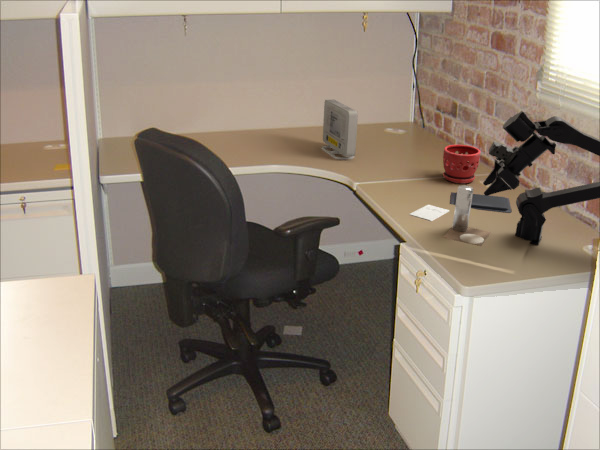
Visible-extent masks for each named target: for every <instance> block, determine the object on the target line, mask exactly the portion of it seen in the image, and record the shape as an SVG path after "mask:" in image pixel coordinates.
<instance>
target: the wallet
mask: <svg viewBox="0 0 600 450" xmlns="http://www.w3.org/2000/svg"><path fill="white" fill-rule="evenodd" d="M456 197H457V191H456V192H453V191H452V192H450V197H449V205H453V206H455V205H456ZM471 209H474V210H476V211H477V210H478V211H487V212H496V213H503V214H511V213H512V207H511V202H510V197H509V198H508V197H505V196H498V195H488V196H486V195H485V194H478V193H473V195H472V202H471Z"/></svg>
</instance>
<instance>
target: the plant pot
mask: <svg viewBox="0 0 600 450" xmlns="http://www.w3.org/2000/svg"><path fill="white" fill-rule="evenodd" d="M456 152H457V153H456ZM480 158H481V150H480V149H479V148H477V147H475V146H473V145H467V144H450V145H449V144H448V145H446V146H445V147H444V148H443V156H442V163H443V168H444V172H443V173H442V174H443V178H444V179H446V181H449V182H451V183H455V184H468V183H471V182H474V180H475V179H476V176H475V174H476V171H477V170H478V167H479V163H480Z"/></svg>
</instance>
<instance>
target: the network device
mask: <svg viewBox="0 0 600 450" xmlns="http://www.w3.org/2000/svg"><path fill="white" fill-rule="evenodd" d="M323 109H324V110H323V124H322V125H323V127H322V141H323V143H324V144H325V145H322V146H321V148H320V149H321V150H322V151H323V152H324V153H326V154H328V155H329V156H331V158H333V159H335V160H339V161H340V160H352V159H355V156H356V150H357V148H356V147H357V135H358V134H357V133H358V120H359V119H358V118H359V113H358V111H357V110H356V109H354V108H352V107H350V106H348V105H345V104H344V103H342V102H340V101H338V100H336V99H324V105H323ZM331 148H332V149H333V150H328V149H331ZM336 155H342V156H343V157H342V156H340V157H339V156H336Z"/></svg>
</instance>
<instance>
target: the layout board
mask: <svg viewBox="0 0 600 450" xmlns="http://www.w3.org/2000/svg"><path fill="white" fill-rule="evenodd" d="M452 227H453V225H452V226H451V228H449V230H448V231H447V232H446V233H445V234H444V235H443V237H442V239H446V240H447V239H448V240H450V241H451V240H452V241H456V242H461V243H465V244H471V245H474V246H479V247H482V245H483V244H484V243H485V241H486V240H487V238H488V237H489V235H490V234H491V231H489V230H483V229H478V228H474V227H469V226H468V229H467V231H466V232H457V231H454V230H453V229H452Z"/></svg>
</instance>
